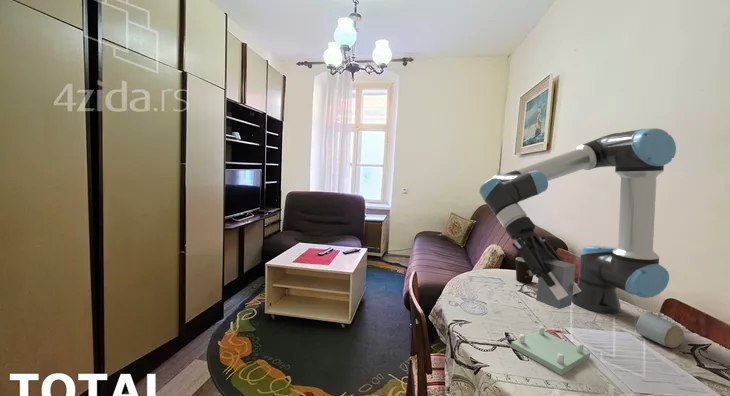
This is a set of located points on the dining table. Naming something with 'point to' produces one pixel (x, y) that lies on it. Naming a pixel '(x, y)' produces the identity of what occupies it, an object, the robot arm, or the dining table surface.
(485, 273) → the dining table surface
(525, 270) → the coffee mug
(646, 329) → the grey cylinder
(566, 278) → the block
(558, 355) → the pin plate
